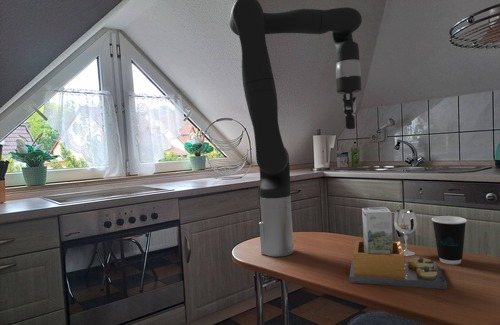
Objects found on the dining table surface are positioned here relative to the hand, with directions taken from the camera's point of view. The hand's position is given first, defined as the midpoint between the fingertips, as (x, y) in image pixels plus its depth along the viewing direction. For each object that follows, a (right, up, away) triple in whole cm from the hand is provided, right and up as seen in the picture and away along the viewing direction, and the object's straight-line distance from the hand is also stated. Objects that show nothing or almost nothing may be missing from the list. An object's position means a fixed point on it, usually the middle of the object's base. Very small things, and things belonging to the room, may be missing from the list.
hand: (350, 128), depth 112 cm
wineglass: (+12, -36, -12) cm, 40 cm away
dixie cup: (+20, -36, -20) cm, 46 cm away
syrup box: (-1, -36, -26) cm, 45 cm away
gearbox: (+3, -38, -27) cm, 46 cm away
